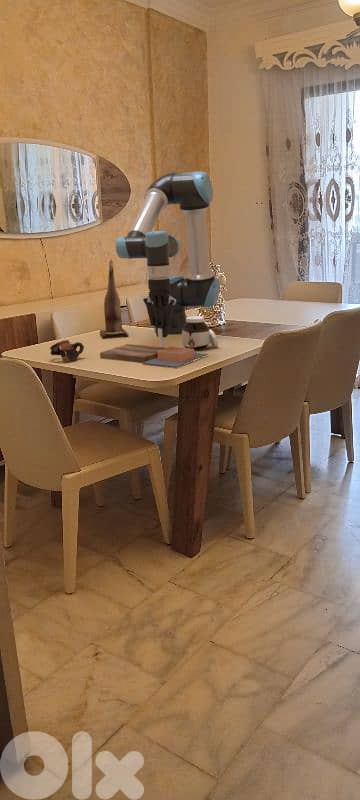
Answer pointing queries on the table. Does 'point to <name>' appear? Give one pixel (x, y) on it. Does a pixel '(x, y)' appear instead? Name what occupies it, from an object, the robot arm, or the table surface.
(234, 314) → the table surface
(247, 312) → the table surface
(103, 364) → the table surface
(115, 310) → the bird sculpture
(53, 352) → the pottery mug
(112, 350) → the walnut riser
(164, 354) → the terracotta tile
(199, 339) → the spread jar
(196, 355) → the charcoal mat
